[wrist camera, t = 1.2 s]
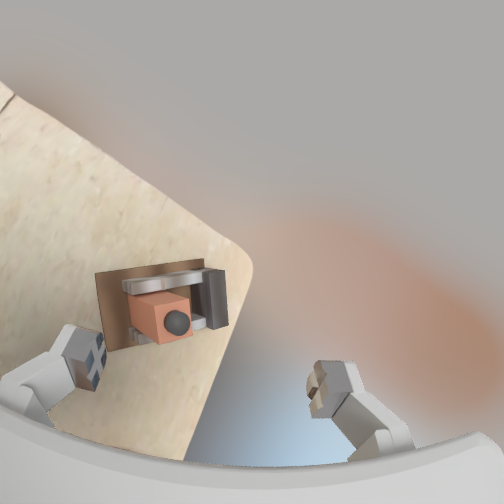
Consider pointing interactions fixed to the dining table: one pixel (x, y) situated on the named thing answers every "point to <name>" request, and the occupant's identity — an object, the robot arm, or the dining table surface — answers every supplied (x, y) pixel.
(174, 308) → the pink block with knob
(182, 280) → the press housing
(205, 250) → the dining table surface
